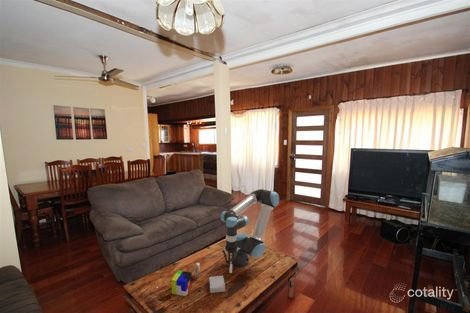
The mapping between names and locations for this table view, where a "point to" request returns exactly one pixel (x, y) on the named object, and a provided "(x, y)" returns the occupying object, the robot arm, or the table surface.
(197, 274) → the dowel
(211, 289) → the slab
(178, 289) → the puzzle toy
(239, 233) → the robot arm
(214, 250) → the table surface
